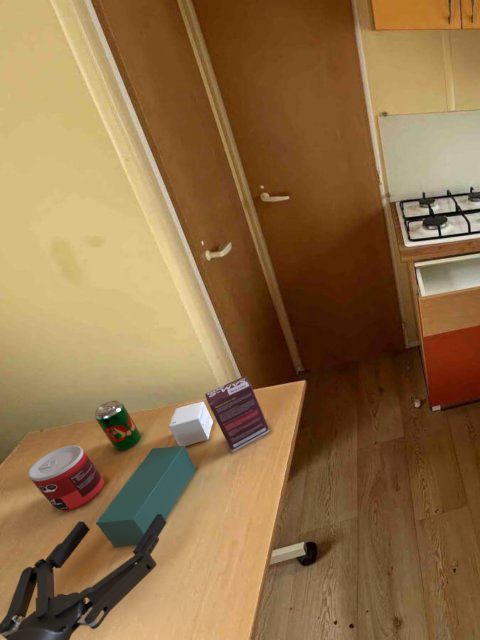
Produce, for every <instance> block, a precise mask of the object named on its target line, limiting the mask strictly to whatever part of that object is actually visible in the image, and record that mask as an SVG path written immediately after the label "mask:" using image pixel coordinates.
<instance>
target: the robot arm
mask: <svg viewBox="0 0 480 640" xmlns="http://www.w3.org/2000/svg"><path fill="white" fill-rule="evenodd" d="M166 524H167V521H166V519H164V518H163V516H162V515H161V514H157V515H156V517H155V518H154V520H153V521H152V523H151V524H150V526H149V527H148V529H147V531H146V532H145V534H144V535H143V537H142V538H141V540H140V541H139V543H138V544H137V545H135V547H134V549H133V550H132V553H133V556H132V557H130V558H129V559H127V560H126V561H124V562H123V563H122V564H120V565H119V566H118V567H117V568H116V569H114V570H112V571H111V572H110V573H108V574H107V575H105V576H104V577H103V578H102V579H100V580H99V581H98V582H96V583H94V584H93V585H92V586H88V587H85V588H84V589H83V590H81V591H80V592H78V591H75V592H71V593H68V594H65V593H58V594H56V590H55V588H56V587H55V571H54V570H55V569H62V568H63V566H64V565H65V563H66V562H67V561H68V559H69V558H70V556H72V554H73V553H74V552H75V550H76V549H77V547H78V546H79V545H80V543H81V542H82V541H83V540H84V538H85V537H86V536H87V535H88V533H89V532H90V531H91V529H90V528H89V526H88V525H87V524H86V523H85V521H84V520H82V521H81V520H80V521H78V522H77V523H76V524H75V526H74V527H73V529H72V530H71V531H70V532H69V533H68V535H67V536H66V537H65V538H64V540H62V542H61V543H60V542H59V543H58V544H57V545H56V546H55V547H54V548H53V550H52V551H51V552H50V553H49V554H48V556H47V557H46V558H41V559H39V560H37V561H35V563H34V566H33V567H32V566H28V567H26V568H24V569H23V570H22V572H21V574H20V575H19V580H18V582H17V585H16V587H15V589H14V590H15V591H14V592H13V595H12V598H11V600H10V603H9V607H8V609H7V612H6V614H5V616H4V617H3V619H2V621H0V636H2V637H3V638H4V639H6V640H70V639H71V637H72V635H73V633H74V632H75V631H77V629H78V628H80V627H81V626H82V627H83V626H84V627H85V626H86V627H90V629H91V630H96V629H97V628H98V627H100V626H101V625H102V623H103V621H104V620H105V619H106V617H108V615H109V613H110V612H111V611H112V610H113V609H114V608H115V607H116V606H118V604H119V603H120V602H122V600H123V599H125V597H127V595H128V594H129V593H130V592H132V591H133V589H134V588H135V587H136V586H138V584H139V583H141V582H142V580H144V579H145V578H146V576H147V575H149V574H150V573H151V572H152V571H153V570H154V569H155V568H156V566H157V562H156V560H155V559H154V557H153V556H152V553H153V551H154V550H155V548H156V546H157V545H158V543H159V542H160V537H159V536H160V535H161V532H162V531H163V529H164V527H165V526H166ZM54 568H55V569H54ZM35 590H36V597H35V610H34V611H32V612H31V613H30V614H29V615H27V613H28V612H29V611H28V610H29V608H30V605H31V601H32V598H33V597H34V596H33V595H34V592H35ZM86 599H88V601H87V602H86Z"/></svg>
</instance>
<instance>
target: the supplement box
mask: <svg viewBox="0 0 480 640" xmlns="http://www.w3.org/2000/svg"><path fill="white" fill-rule="evenodd" d="M204 395H205V399H206V401H207V403H208V406H209V408H210V410H211V412H212V414H213V417H214V418H215V421H216V422H217V424H218V427H219V428H220V429H219V430H220V431H221V433H222V434H223V437H224V439H225V442H226V444H227V445H228V446H229V449H230V450H231V452H232V453H234V452H236V451H238V450H240V449H242V448H243V447H245V446H247V445H249V444H251V443H252V442H254V441H256V440H258V439H260V438H262V437H264V436H265V435H266V434H269V433H270V428H269V425H268V423H267V420H266V418H265V415H264V413H263V410H262V407H261V406H260V404H259V401H258V399H257V396H256V394H255V391H254V388H253V387H252V383H251V382H250V381H249V379H248V378H247V376H246V375H244V376H241V377H239V378H237V379H235V380H233V381H231V382H228V383H226V384H224V385H222V386H220V387H218V388H215V389H213V390H210V391H209V392H207V393H204Z"/></svg>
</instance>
